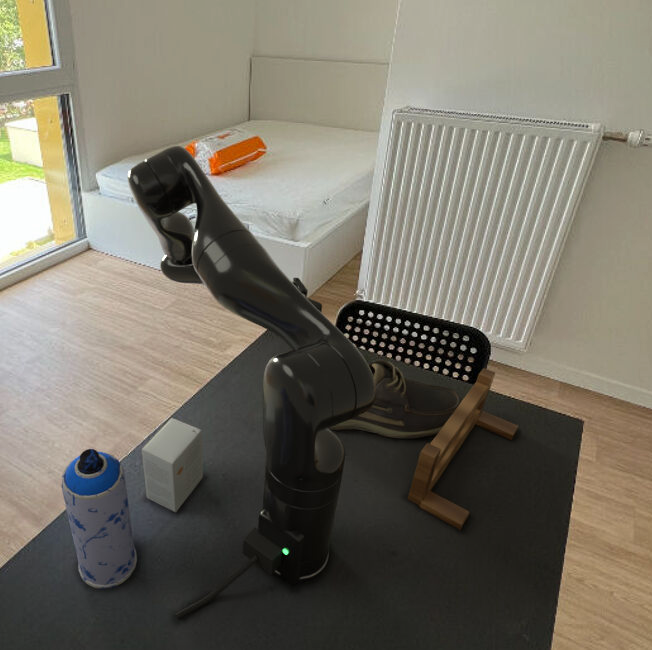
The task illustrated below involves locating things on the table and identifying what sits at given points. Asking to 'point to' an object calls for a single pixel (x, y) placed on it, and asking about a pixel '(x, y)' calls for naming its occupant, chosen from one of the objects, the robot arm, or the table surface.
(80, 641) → the table surface
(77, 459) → the aerosol can
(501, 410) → the table surface
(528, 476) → the table surface
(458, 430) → the wooden display stand
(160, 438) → the small box
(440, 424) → the boat shoe
